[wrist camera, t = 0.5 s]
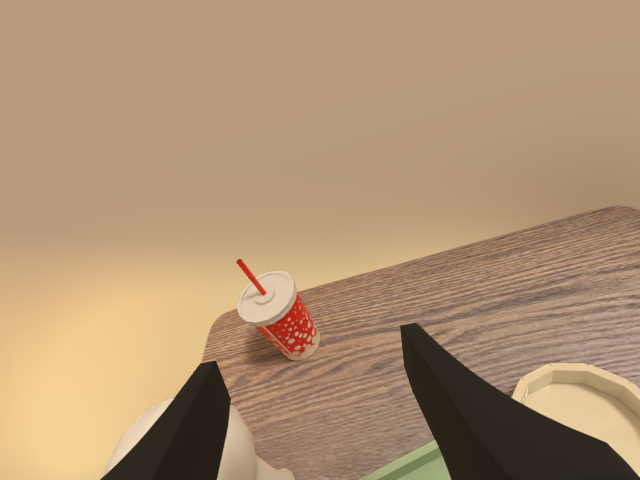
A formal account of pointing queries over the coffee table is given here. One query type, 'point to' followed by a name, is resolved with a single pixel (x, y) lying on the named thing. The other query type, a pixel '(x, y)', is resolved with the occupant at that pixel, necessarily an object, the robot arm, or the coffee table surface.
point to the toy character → (238, 454)
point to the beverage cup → (278, 313)
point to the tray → (414, 466)
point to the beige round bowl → (587, 404)
